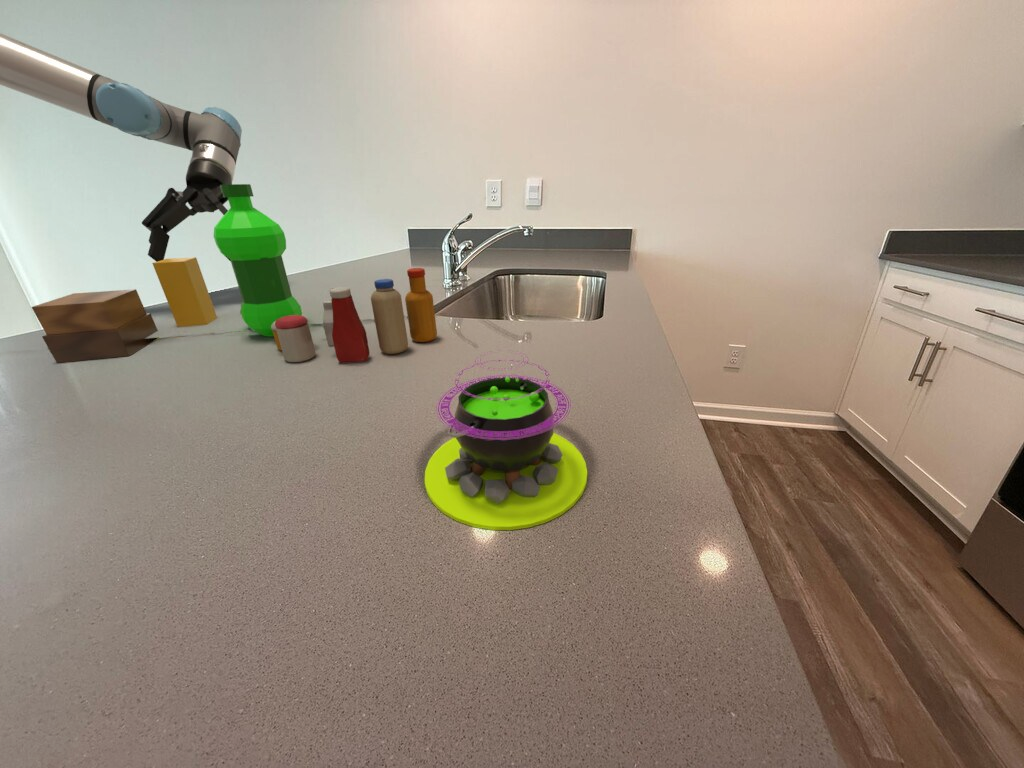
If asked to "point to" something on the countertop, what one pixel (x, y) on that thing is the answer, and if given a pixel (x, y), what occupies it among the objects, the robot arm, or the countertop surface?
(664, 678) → the countertop surface
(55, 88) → the robot arm
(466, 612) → the countertop surface
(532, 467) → the toy cauldron
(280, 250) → the plastic bottle
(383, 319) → the toy food
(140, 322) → the stacked wooden blocks
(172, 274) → the bar
